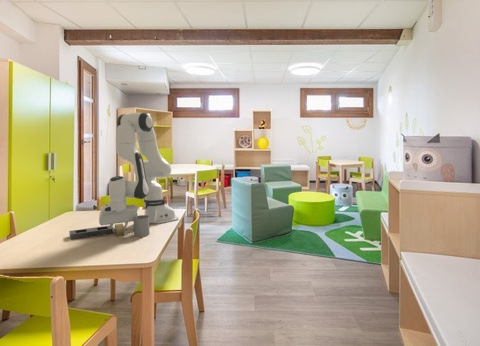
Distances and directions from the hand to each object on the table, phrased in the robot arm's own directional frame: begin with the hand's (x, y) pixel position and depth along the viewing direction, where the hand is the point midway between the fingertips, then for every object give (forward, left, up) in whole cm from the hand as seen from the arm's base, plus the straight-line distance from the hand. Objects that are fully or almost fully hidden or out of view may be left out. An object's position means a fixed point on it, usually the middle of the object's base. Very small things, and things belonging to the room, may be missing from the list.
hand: (119, 230), depth 188 cm
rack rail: (+13, -9, -3) cm, 16 cm away
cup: (-11, +5, -3) cm, 12 cm away
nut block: (0, 0, -3) cm, 3 cm away
